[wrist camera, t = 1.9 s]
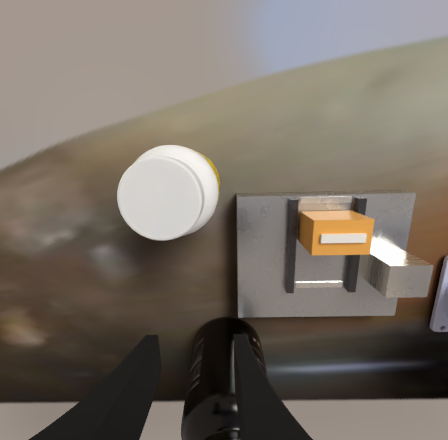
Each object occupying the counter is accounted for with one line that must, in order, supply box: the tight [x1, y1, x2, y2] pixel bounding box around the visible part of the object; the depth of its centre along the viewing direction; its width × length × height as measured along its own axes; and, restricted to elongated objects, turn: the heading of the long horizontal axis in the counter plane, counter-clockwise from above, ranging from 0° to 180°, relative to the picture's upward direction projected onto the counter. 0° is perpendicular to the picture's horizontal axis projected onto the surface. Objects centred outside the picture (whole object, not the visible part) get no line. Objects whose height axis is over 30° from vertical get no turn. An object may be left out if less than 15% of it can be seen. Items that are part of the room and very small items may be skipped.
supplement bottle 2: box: [181, 317, 269, 440], centre depth 18 cm, size 7×7×12 cm
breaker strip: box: [236, 190, 433, 318], centre depth 19 cm, size 14×11×5 cm
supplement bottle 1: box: [117, 145, 220, 241], centre depth 16 cm, size 5×5×10 cm
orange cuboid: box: [299, 210, 375, 256], centre depth 17 cm, size 4×2×3 cm, turn 91°
